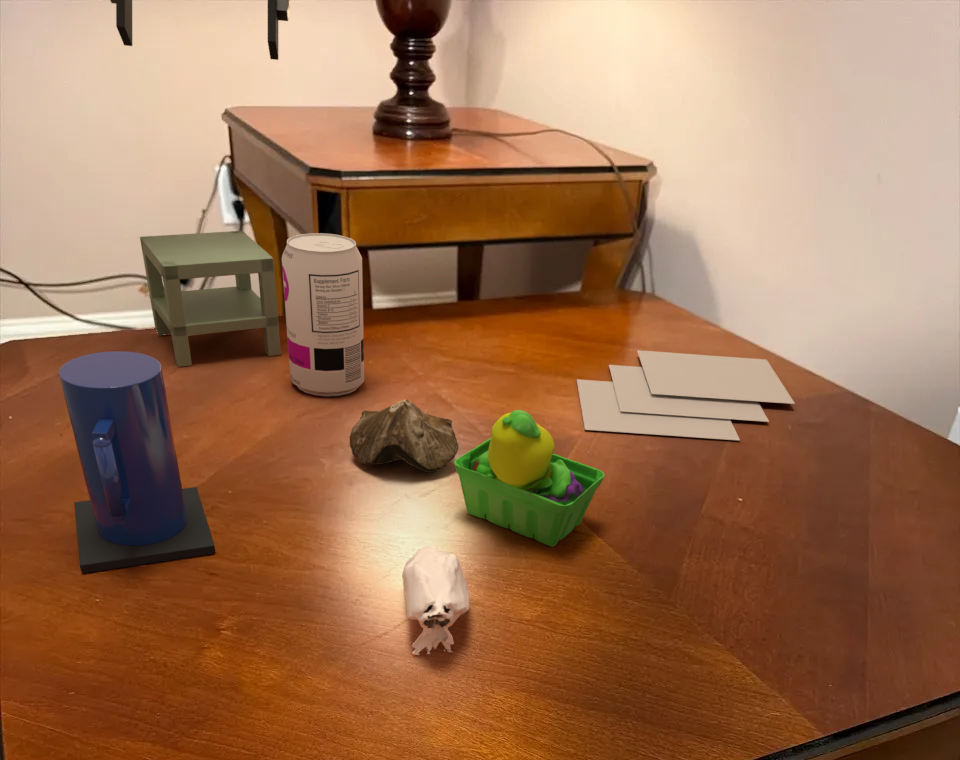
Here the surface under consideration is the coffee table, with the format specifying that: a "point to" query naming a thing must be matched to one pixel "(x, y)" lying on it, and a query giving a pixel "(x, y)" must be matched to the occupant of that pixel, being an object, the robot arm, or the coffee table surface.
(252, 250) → the side table
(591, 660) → the coffee table surface
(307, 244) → the supplement can
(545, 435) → the fruit basket
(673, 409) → the paper stack
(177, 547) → the mat
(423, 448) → the fossilized seashell
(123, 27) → the robot arm
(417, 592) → the white crumpled pouch
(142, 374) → the jug
